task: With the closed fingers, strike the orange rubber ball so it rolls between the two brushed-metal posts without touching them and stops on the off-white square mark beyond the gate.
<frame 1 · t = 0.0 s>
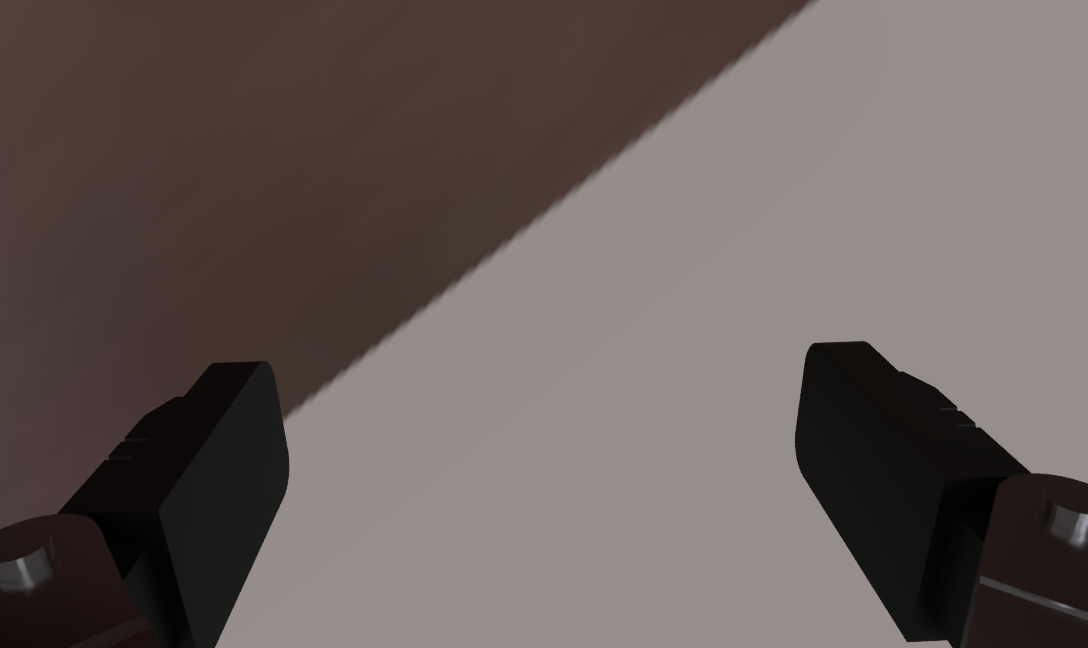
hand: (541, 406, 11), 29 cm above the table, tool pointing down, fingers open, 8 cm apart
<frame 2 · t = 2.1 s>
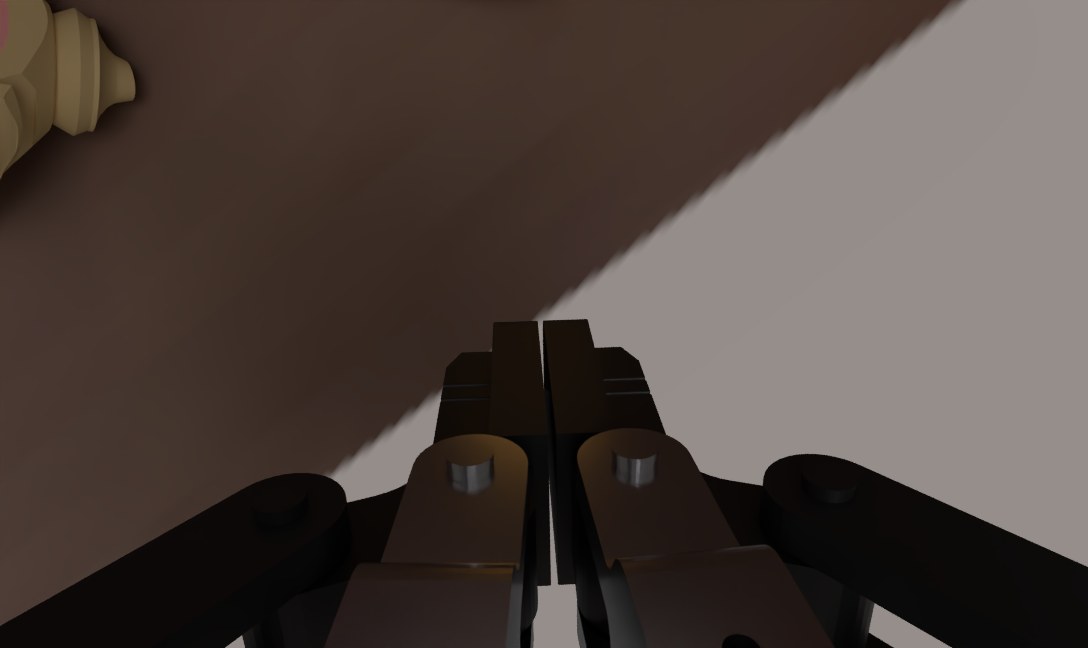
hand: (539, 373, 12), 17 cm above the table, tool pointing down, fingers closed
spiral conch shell: (4, 85, 26), on the table
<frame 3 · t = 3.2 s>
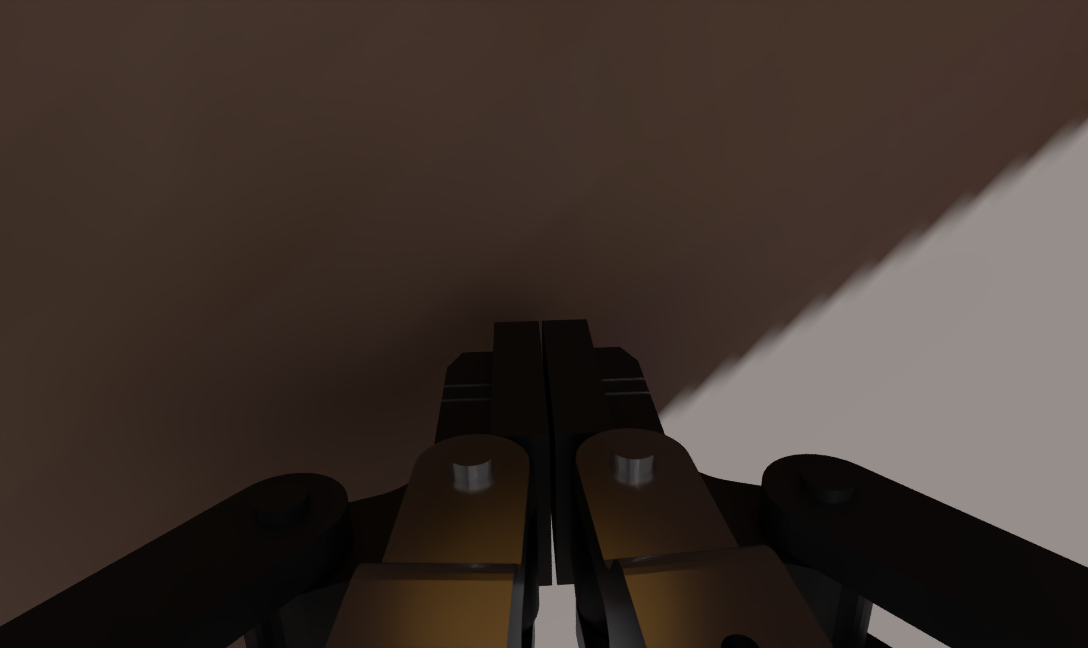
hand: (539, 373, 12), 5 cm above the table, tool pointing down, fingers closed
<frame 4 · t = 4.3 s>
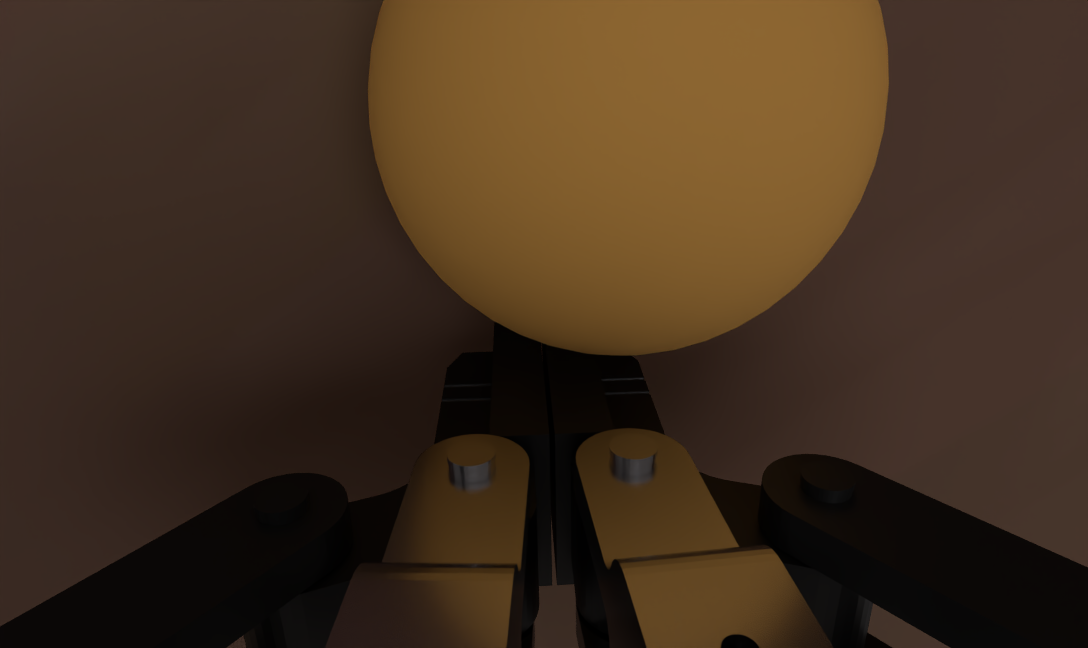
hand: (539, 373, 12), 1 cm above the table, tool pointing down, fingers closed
ball: (619, 110, 9), on the table
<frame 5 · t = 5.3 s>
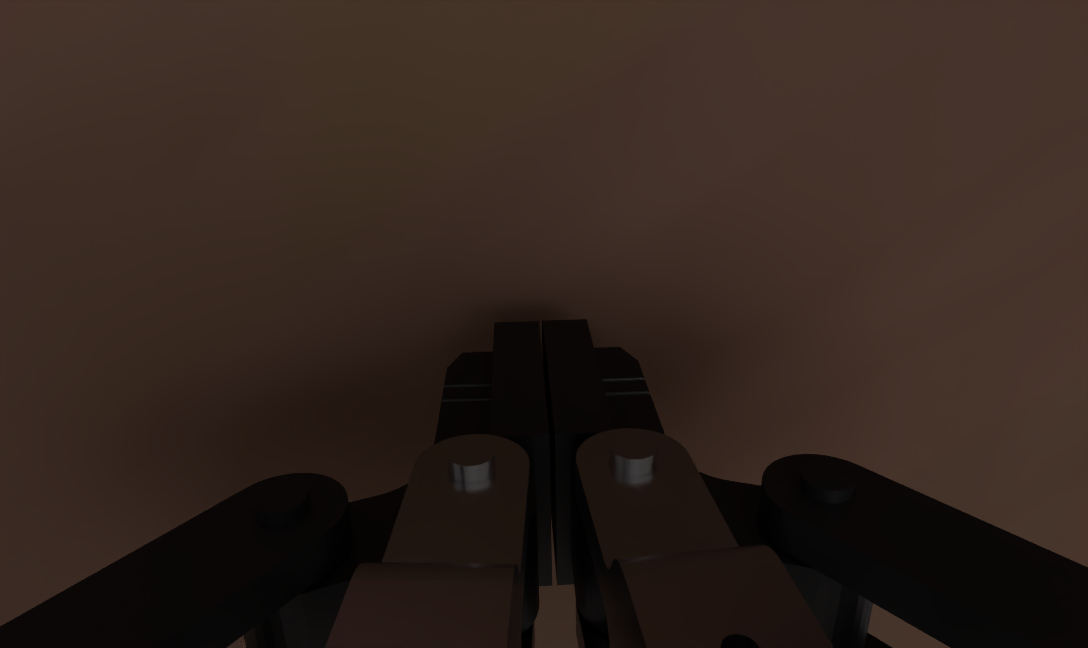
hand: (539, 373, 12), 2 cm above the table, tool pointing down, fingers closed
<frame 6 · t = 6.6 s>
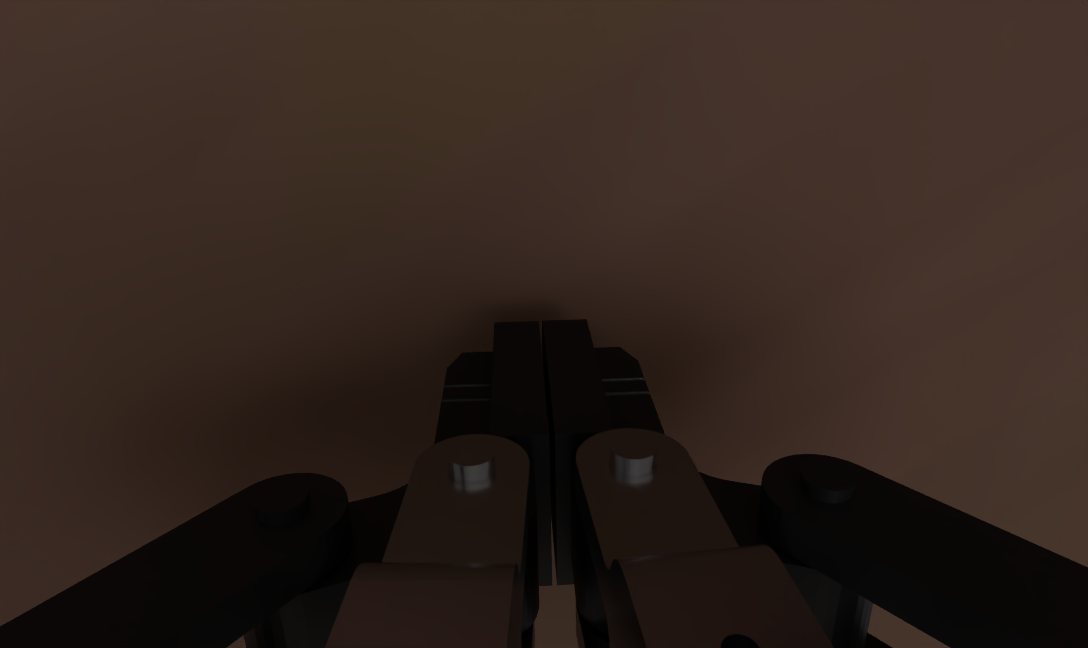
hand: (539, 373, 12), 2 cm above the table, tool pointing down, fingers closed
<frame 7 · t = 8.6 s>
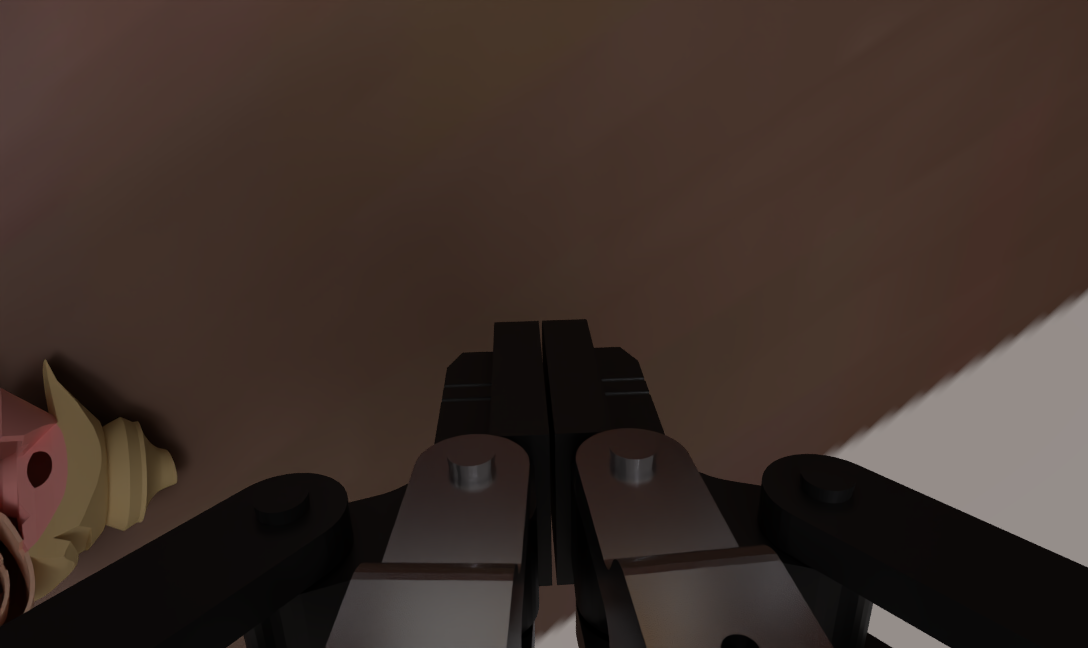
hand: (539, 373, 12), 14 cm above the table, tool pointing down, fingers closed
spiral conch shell: (57, 459, 28), on the table
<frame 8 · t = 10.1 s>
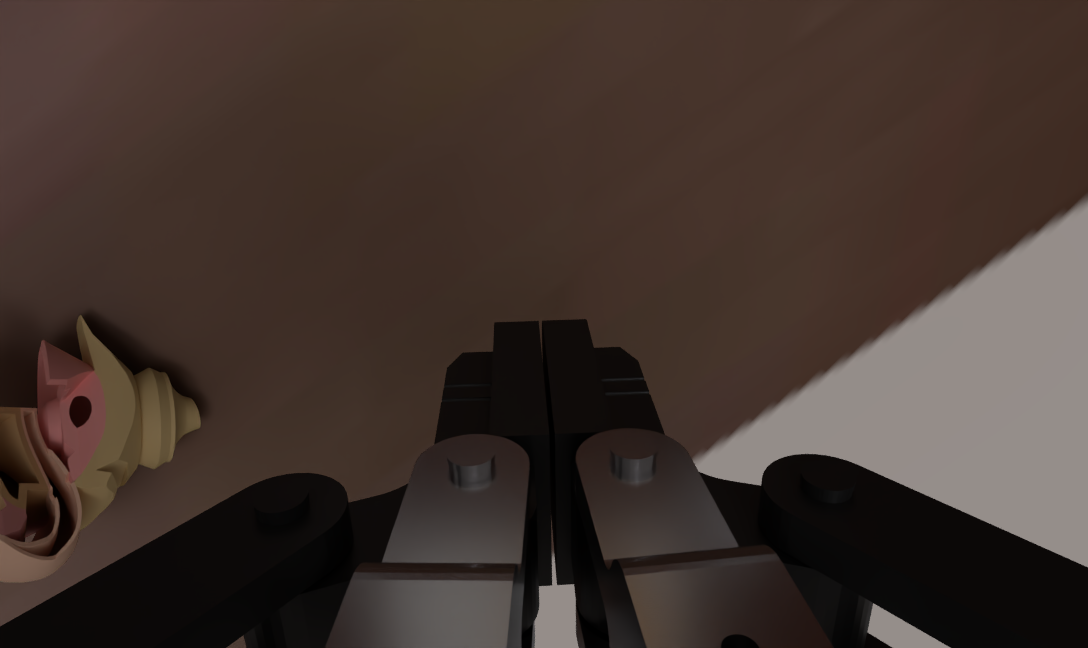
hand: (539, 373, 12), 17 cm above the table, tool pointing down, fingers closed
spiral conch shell: (89, 408, 31), on the table
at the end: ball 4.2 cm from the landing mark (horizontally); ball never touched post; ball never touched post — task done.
